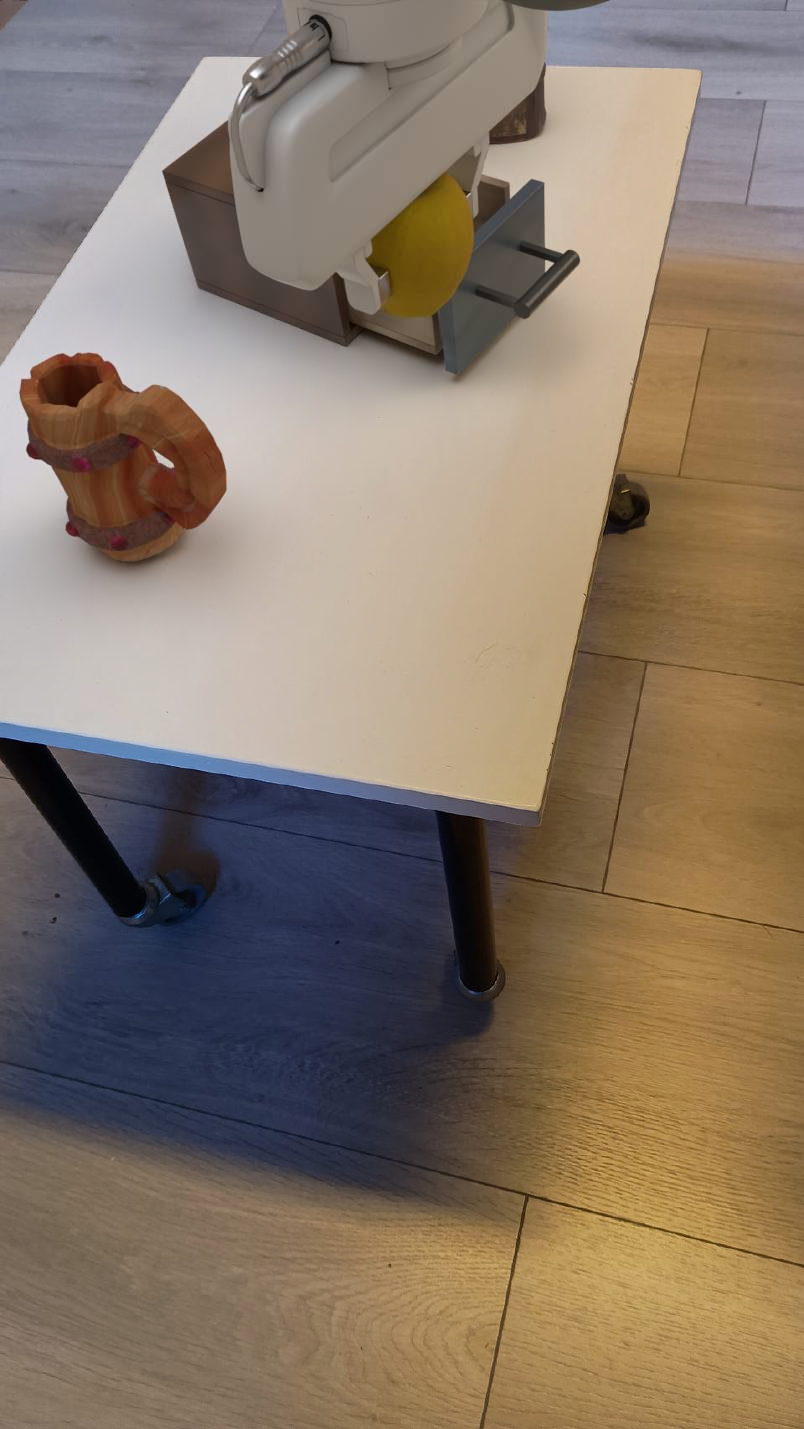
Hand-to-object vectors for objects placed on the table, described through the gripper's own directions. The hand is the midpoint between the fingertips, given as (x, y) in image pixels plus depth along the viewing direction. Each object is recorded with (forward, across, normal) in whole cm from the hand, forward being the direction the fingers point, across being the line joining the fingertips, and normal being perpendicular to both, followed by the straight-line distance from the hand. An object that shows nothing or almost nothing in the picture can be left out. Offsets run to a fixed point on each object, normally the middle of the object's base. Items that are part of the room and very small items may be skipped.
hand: (416, 260), depth 58 cm
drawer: (+22, +21, +15) cm, 34 cm away
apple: (+3, 0, 0) cm, 3 cm away
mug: (+23, -9, +19) cm, 31 cm away
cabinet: (+23, +21, +29) cm, 43 cm away
